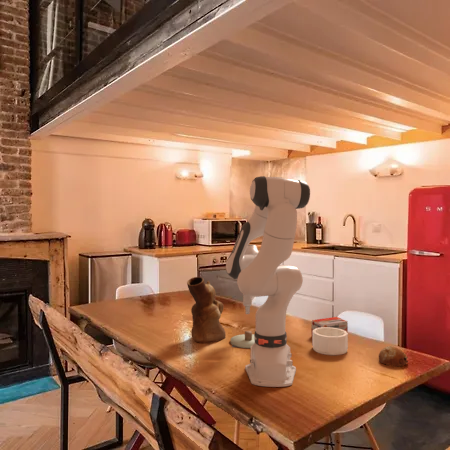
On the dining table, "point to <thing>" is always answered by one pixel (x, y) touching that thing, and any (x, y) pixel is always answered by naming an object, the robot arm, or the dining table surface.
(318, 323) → the medicine box
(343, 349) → the bowl
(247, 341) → the lid
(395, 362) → the brown rounded lump
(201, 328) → the ceramic vessel
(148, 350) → the dining table surface
